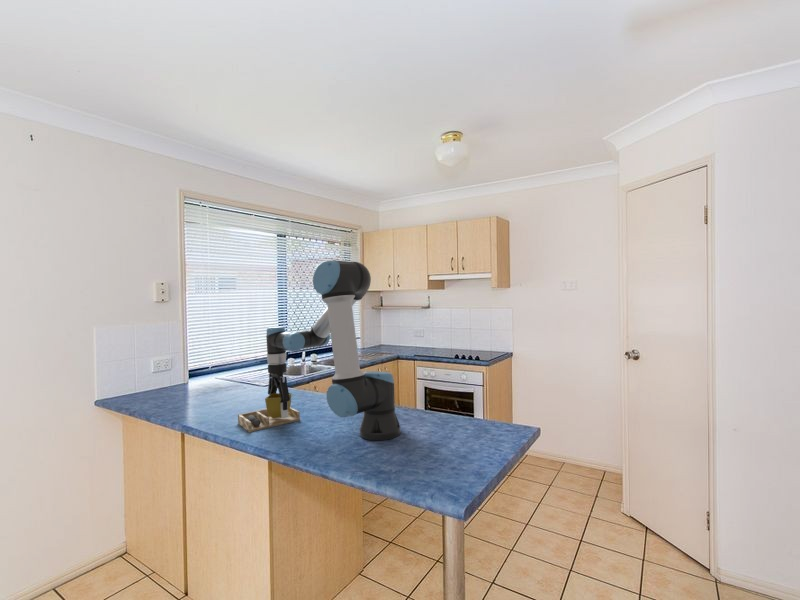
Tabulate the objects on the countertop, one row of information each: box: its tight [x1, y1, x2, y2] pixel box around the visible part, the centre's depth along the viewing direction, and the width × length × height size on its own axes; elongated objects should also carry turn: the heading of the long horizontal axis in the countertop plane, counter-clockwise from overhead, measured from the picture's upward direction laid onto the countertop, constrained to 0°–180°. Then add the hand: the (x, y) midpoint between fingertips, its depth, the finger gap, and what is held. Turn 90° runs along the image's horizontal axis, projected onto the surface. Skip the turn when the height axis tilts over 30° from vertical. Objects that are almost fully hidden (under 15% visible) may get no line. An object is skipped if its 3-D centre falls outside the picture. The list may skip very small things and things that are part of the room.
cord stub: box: [247, 415, 260, 426], centre depth 163 cm, size 11×3×3 cm, turn 38°
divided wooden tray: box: [237, 406, 301, 433], centre depth 168 cm, size 15×21×4 cm
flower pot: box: [264, 392, 292, 418], centre depth 168 cm, size 9×9×9 cm
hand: (279, 414), depth 168 cm, fingers open, 12 cm apart
